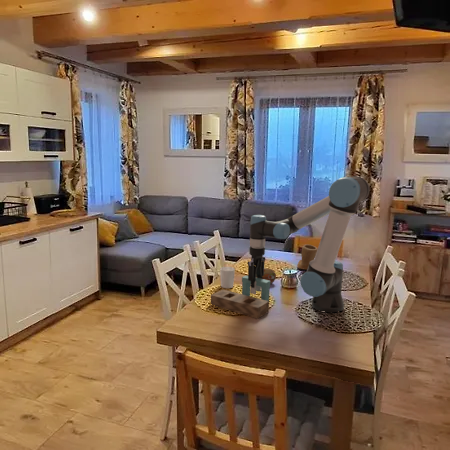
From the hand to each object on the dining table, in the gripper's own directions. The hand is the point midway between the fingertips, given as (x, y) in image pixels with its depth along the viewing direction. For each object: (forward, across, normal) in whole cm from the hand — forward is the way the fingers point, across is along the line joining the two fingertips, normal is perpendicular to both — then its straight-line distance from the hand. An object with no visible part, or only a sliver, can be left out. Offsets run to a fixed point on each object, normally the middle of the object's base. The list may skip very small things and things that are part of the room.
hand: (255, 292), depth 202 cm
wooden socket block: (+4, +15, 0) cm, 15 cm away
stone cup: (+4, -68, -2) cm, 68 cm away
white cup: (+4, -7, -22) cm, 23 cm away
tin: (+4, -25, -10) cm, 27 cm away
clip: (+4, 0, 0) cm, 4 cm away
